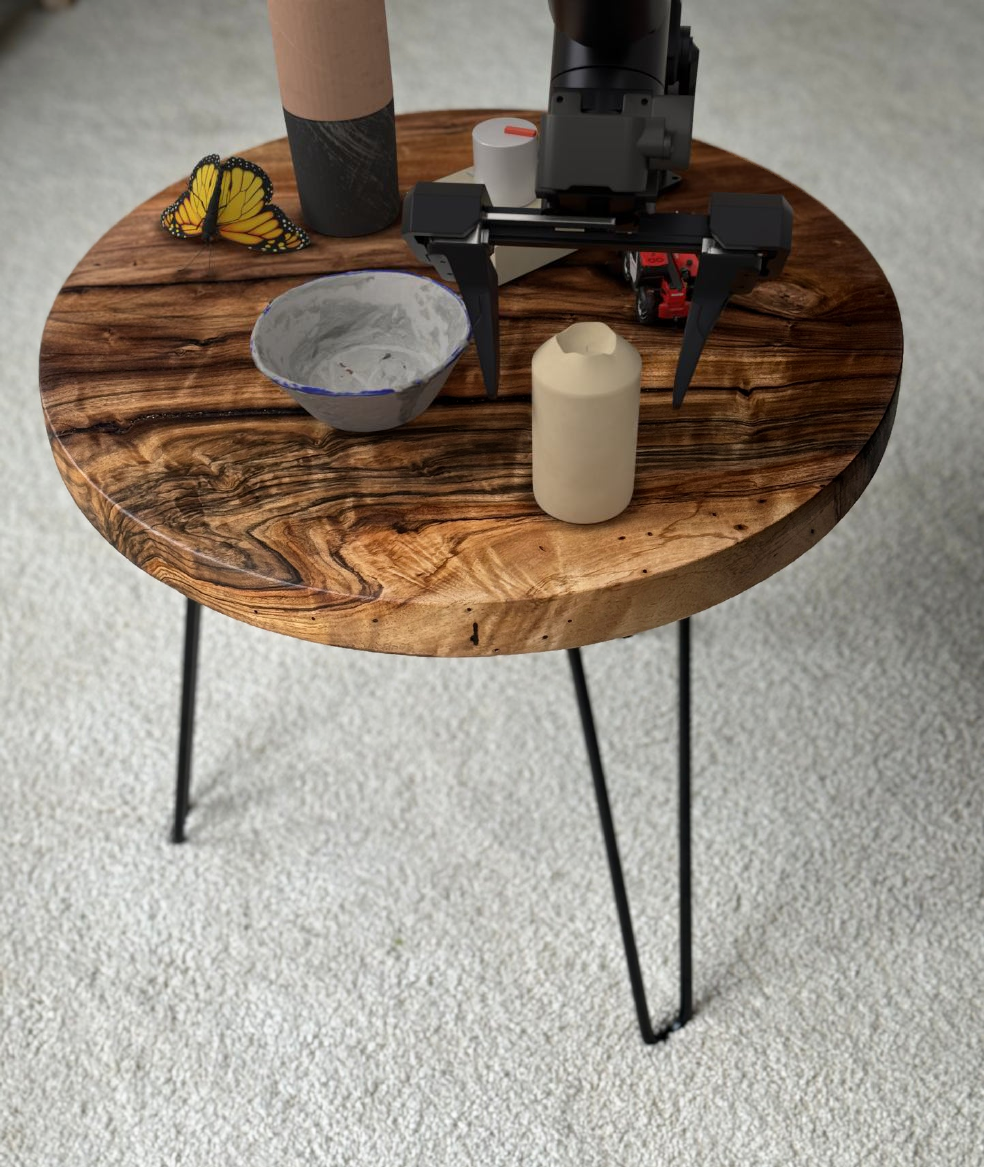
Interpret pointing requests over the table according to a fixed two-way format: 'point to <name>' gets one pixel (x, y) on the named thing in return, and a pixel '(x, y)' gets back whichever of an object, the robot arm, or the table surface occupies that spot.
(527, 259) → the plate
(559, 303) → the table surface
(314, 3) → the travel mug
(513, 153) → the tap knob
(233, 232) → the butterfly
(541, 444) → the candle
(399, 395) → the bowl
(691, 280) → the loader
